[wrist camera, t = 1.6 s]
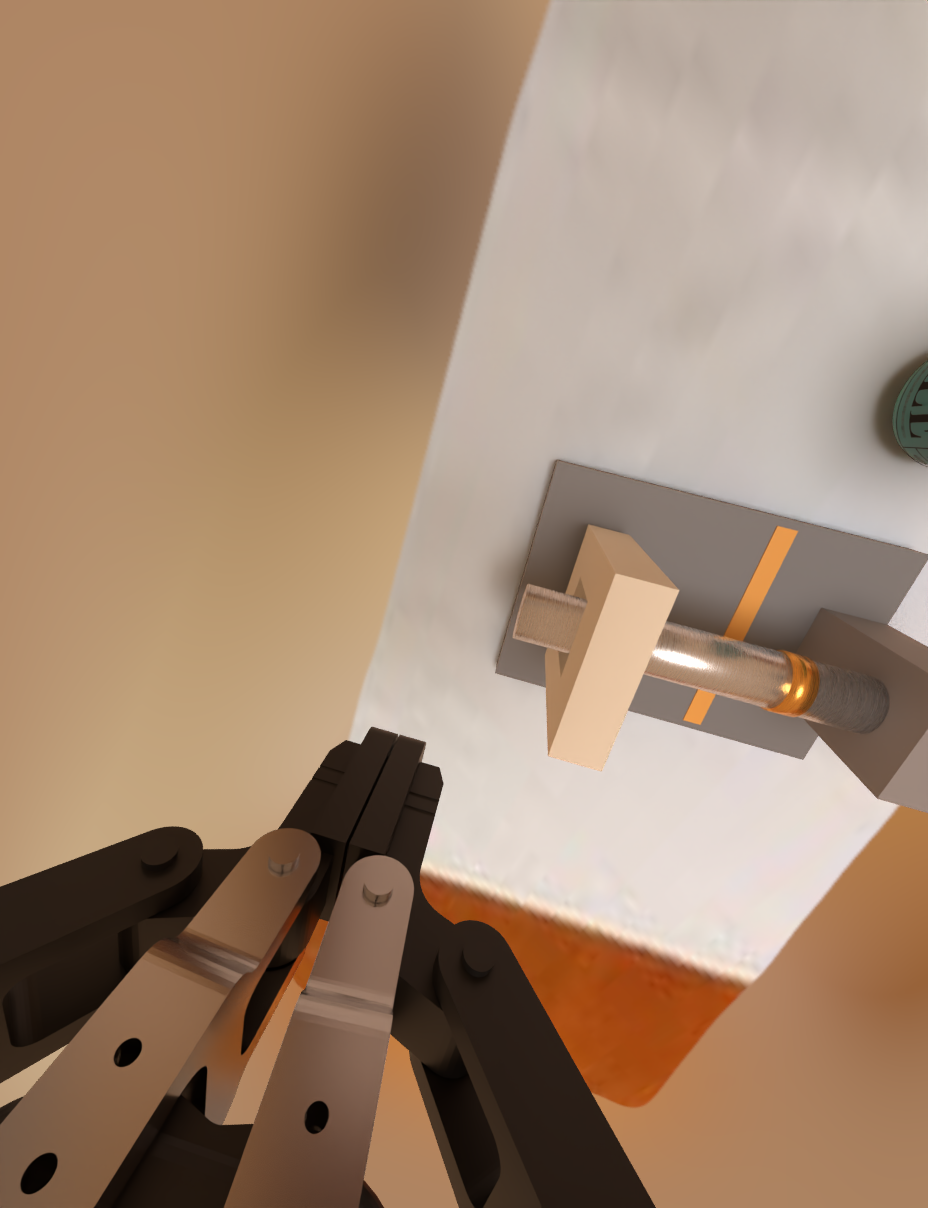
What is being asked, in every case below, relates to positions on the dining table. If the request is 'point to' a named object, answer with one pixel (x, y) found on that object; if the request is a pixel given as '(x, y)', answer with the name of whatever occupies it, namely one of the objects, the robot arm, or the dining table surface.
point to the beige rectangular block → (604, 646)
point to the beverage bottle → (913, 416)
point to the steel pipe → (725, 666)
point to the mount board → (752, 614)
